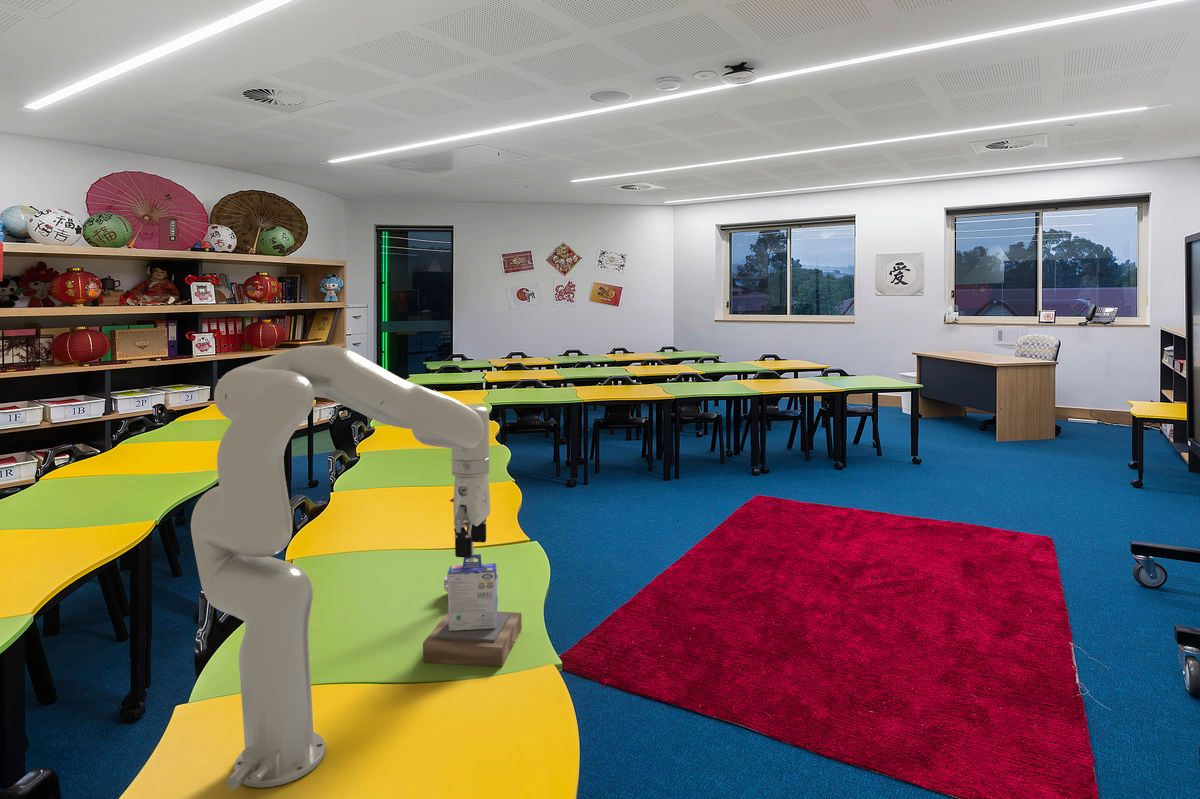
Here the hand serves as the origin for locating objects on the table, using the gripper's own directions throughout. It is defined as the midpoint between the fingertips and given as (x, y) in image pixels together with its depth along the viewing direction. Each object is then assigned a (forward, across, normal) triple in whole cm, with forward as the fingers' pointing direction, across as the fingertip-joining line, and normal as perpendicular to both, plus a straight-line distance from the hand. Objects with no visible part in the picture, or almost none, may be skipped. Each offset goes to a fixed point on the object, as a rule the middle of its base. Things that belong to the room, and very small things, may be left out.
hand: (471, 549), depth 138 cm
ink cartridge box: (+16, +1, 0) cm, 17 cm away
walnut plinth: (+21, +1, 0) cm, 21 cm away
